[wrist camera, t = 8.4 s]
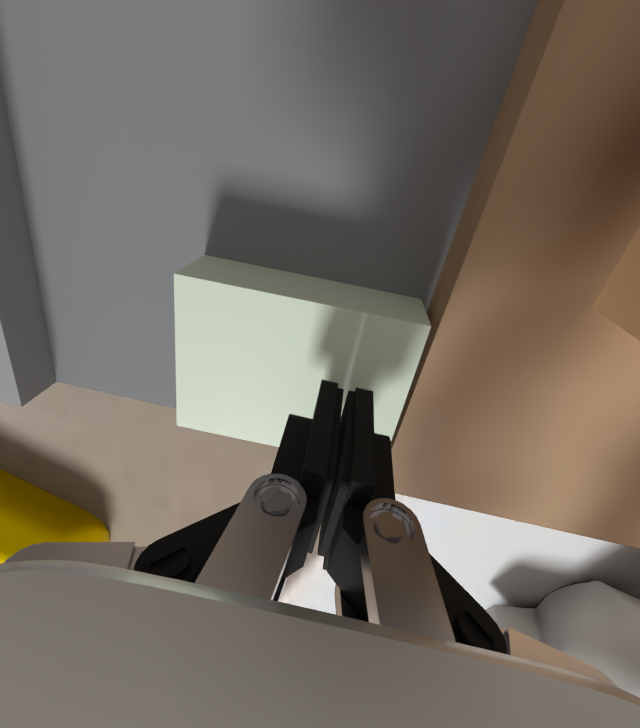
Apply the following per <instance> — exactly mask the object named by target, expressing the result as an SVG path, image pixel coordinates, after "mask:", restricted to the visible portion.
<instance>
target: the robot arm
mask: <svg viewBox="0 0 640 728" xmlns="http://www.w3.org/2000/svg"><path fill="white" fill-rule="evenodd" d="M343 392H344V389H341V388H338V383H335V382H331V381H326V380H322V381H321V385H320V389H319V393H318V397H317V402H316V406H315V410H314V415H313V419H311V418H307V417H302V416H298V415H293V414H289V416H288V419H287V423H286V426H285V429H284V433H283V436H282V439H281V442H280V446H279V449H278V452H277V456H276V459H275V462H274V466H273V469H272V472H271V474H268V475H264V476H261V477H260V478H258V479H256V480H255V481H254V482H253V483H252V484H251V486H250V487H249V489H248V490H247V492H246V494H245V496H244V497H243V499H242V501H241V502H240V503H238V504H235V505H233V506H231V507H229V508H227V509H224V510H222V511H220V512H218V513H216V514H214V515H211V516H209V517H207V518H205V519H203V520H200V521H198V522H196V523H194V524H192V525H189V526H187V527H185V528H183V529H181V530H178V531H176V532H174V533H172V534H170V535H167V536H165V537H163V538H161V539H159V540H157V541H155V542H154V543H152V544H150V545H149V546H148V547H135V542H44V543H38V544H33V545H30V546H28V547H26V548H23V549H21V550H19V551H18V552H16V553H15V554H13V555H12V556H11V557H9V558H8V559H7V560H6V561H5V562H4V563H1V564H0V728H640V698H639V697H637V696H635V695H633V694H631V693H629V692H627V691H624V690H622V689H620V688H618V687H617V685H616V684H615V683H614V682H613V681H612V680H611V679H610V678H609V677H607V676H606V675H605V674H604V673H603V672H601V671H599V670H598V669H596V668H595V667H593V666H591V665H589V664H587V663H585V662H583V661H581V660H578V659H576V658H574V657H572V656H570V655H568V654H566V653H563V652H561V651H559V650H557V649H555V648H553V647H550V646H548V645H546V644H544V643H542V642H540V641H538V640H535V639H533V638H531V637H529V636H527V635H525V634H523V633H520V632H518V631H516V630H514V629H512V628H510V627H508V628H507V629H506V630H503V629H500V628H499V626H498V625H497V623H496V622H495V621H494V620H493V618H492V617H491V616H490V615H489V614H488V613H487V612H486V611H485V610H484V609H483V608H482V607H481V606H480V604H479V603H478V602H477V601H476V600H475V599H474V598H473V597H472V596H471V595H470V594H469V593H468V592H467V591H466V590H465V589H464V588H463V587H462V586H461V585H460V584H459V583H458V582H457V581H456V580H455V579H454V578H453V577H452V576H451V575H450V574H449V573H448V572H447V571H446V570H445V569H444V568H443V567H442V566H441V565H440V564H439V563H438V562H437V561H436V560H435V559H434V558H433V557H432V556H431V555H430V554H429V552H428V548H427V545H426V542H425V539H424V535H423V532H422V529H421V525H420V523H419V521H418V519H417V517H416V516H415V514H414V513H413V512H412V511H411V510H410V509H409V508H408V507H406V506H405V505H404V504H402V503H400V502H398V501H396V500H395V490H394V477H393V465H392V452H391V441H390V437H389V436H386V435H381V434H377V433H374V400H373V391H371V390H366V389H362V388H357V387H356V389H355V391H350V390H349V391H348V394H347V397H346V401H345V404H344V408H343V411H342V402H343ZM341 412H342V415H341ZM320 525H321V529H320V537H319V545H318V555H320V556H324V563H323V569H324V570H327V572H328V574H329V575H330V576H331V578H332V579H333V580H334V582H335V583H336V586H335V606H336V615H335V614H330V613H326V612H321V611H317V610H313V609H308V608H304V607H299V606H295V605H291V604H286V603H282V602H279V600H280V597H281V594H282V592H283V589H284V586H285V583H286V579H287V577H288V576H289V575H291V574H292V573H294V572H295V571H297V570H298V569H300V568H301V567H303V566H304V562H305V559H306V555H307V553H311V554H312V551H313V548H314V545H315V541H316V538H317V535H318V532H319V528H320Z"/></svg>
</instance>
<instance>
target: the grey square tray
mask: <svg viewBox="0 0 640 728" xmlns="http://www.w3.org/2000/svg"><path fill="white" fill-rule="evenodd" d="M537 3H538V0H0V402H3V403H8V404H12V405H16V406H21V407H22V406H23V405H25V404H26V403H28V402H29V401H30V400H32V399H33V398H34V397H36V396H37V395H39V394H40V393H41V392H43V391H44V390H45V389H47V388H48V387H50V386H51V385H52V384H54V383H55V382H56V381H57V382H61V383H65V384H70V385H74V386H79V387H83V388H87V389H92V390H96V391H101V392H105V393H110V394H114V395H118V396H123V397H127V398H132V399H136V400H140V401H145V402H149V403H154V404H158V405H163V406H167V407H171V408H176V409H177V407H176V359H175V311H174V273H175V272H177V271H179V270H180V269H182V268H184V267H185V266H187V265H189V264H190V263H192V262H193V261H195V260H197V259H198V258H200V257H202V256H203V255H208V256H213V257H218V258H223V259H228V260H233V261H238V262H243V263H247V264H252V265H257V266H262V267H267V268H272V269H277V270H282V271H287V272H292V273H296V274H301V275H306V276H311V277H316V278H321V279H326V280H331V281H336V282H341V283H346V284H350V285H355V286H360V287H365V288H370V289H375V290H380V291H385V292H390V293H395V294H399V295H404V296H409V297H414V298H419V299H422V302H423V305H424V308H425V310H426V312H427V309H428V306H429V304H430V301H431V298H432V295H433V293H434V290H435V287H436V284H437V281H438V279H439V276H440V273H441V270H442V267H443V265H444V262H445V259H446V256H447V254H448V251H449V248H450V245H451V242H452V240H453V237H454V234H455V231H456V228H457V226H458V223H459V220H460V217H461V214H462V212H463V209H464V206H465V203H466V201H467V198H468V195H469V192H470V189H471V187H472V184H473V181H474V178H475V175H476V173H477V170H478V167H479V164H480V162H481V159H482V156H483V153H484V150H485V148H486V145H487V142H488V139H489V136H490V134H491V131H492V128H493V125H494V123H495V120H496V117H497V114H498V111H499V109H500V106H501V103H502V100H503V97H504V95H505V92H506V89H507V86H508V84H509V81H510V78H511V75H512V72H513V70H514V67H515V64H516V61H517V58H518V56H519V53H520V50H521V47H522V44H523V42H524V39H525V36H526V33H527V31H528V28H529V25H530V22H531V19H532V17H533V14H534V11H535V8H536V5H537Z"/></svg>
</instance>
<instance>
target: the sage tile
mask: <svg viewBox="0 0 640 728" xmlns="http://www.w3.org/2000/svg"><path fill="white" fill-rule="evenodd" d="M174 311H175V359H176V407H177V426H181V427H186V428H191V429H196V430H200V431H205V432H210V433H215V434H220V435H224V436H229V437H234V438H239V439H243V440H248V441H253V442H258V443H262V444H267V445H272V446H277V447H279V446H280V442H281V439H282V436H283V433H284V429H285V426H286V423H287V419H288V416H289V414H293V415H298V416H302V417H307V418H311V419H313V415H314V410H315V406H316V402H317V397H318V393H319V389H320V385H321V381H322V380H326V381H331V382H335V383H338V388H341V389H344V392H343V402H342V411H343V408H344V404H345V401H346V397H347V394H348V391H349V390H350V391H355V389H356V387H357V388H362V389H366V390H371V391H373V400H374V433H377V434H381V435H386V436H389V437H390V441H392V438H393V435H394V432H395V429H396V426H397V423H398V420H399V418H400V415H401V412H402V409H403V406H404V403H405V400H406V398H407V395H408V392H409V389H410V386H411V383H412V380H413V377H414V375H415V372H416V369H417V366H418V363H419V360H420V357H421V355H422V352H423V349H424V346H425V343H426V340H427V337H428V335H429V332H430V329H431V324H430V321H429V319H428V316H427V313H426V310H425V308H424V305H423V302H422V299H419V298H414V297H409V296H404V295H399V294H395V293H390V292H385V291H380V290H375V289H370V288H365V287H360V286H355V285H350V284H346V283H341V282H336V281H331V280H326V279H321V278H316V277H311V276H306V275H301V274H296V273H292V272H287V271H282V270H277V269H272V268H267V267H262V266H257V265H252V264H247V263H243V262H238V261H233V260H228V259H223V258H218V257H213V256H208V255H203V256H202V257H200V258H198V259H197V260H195V261H193V262H192V263H190V264H189V265H187V266H185V267H184V268H182V269H180V270H179V271H177V272H175V273H174ZM341 415H342V412H341Z"/></svg>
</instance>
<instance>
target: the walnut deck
mask: <svg viewBox="0 0 640 728" xmlns="http://www.w3.org/2000/svg"><path fill="white" fill-rule="evenodd" d="M639 226H640V0H538V3H537V5H536V8H535V11H534V14H533V17H532V19H531V22H530V25H529V28H528V31H527V33H526V36H525V39H524V42H523V44H522V47H521V50H520V53H519V56H518V58H517V61H516V64H515V67H514V70H513V72H512V75H511V78H510V81H509V84H508V86H507V89H506V92H505V95H504V97H503V100H502V103H501V106H500V109H499V111H498V114H497V117H496V120H495V123H494V125H493V128H492V131H491V134H490V136H489V139H488V142H487V145H486V148H485V150H484V153H483V156H482V159H481V162H480V164H479V167H478V170H477V173H476V175H475V178H474V181H473V184H472V187H471V189H470V192H469V195H468V198H467V201H466V203H465V206H464V209H463V212H462V214H461V217H460V220H459V223H458V226H457V228H456V231H455V234H454V237H453V240H452V242H451V245H450V248H449V251H448V254H447V256H446V259H445V262H444V265H443V267H442V270H441V273H440V276H439V279H438V281H437V284H436V287H435V290H434V293H433V295H432V298H431V301H430V304H429V306H428V309H427V312H426V313H427V316H428V319H429V321H430V324H431V329H430V332H429V335H428V337H427V340H426V343H425V346H424V349H423V352H422V355H421V357H420V360H419V363H418V366H417V369H416V372H415V375H414V377H413V380H412V383H411V386H410V389H409V392H408V395H407V398H406V400H405V403H404V406H403V409H402V412H401V415H400V418H399V420H398V423H397V426H396V429H395V432H394V435H393V438H392V441H391V452H392V465H393V477H394V490H395V493H396V494H401V495H405V496H410V497H414V498H418V499H423V500H427V501H432V502H436V503H441V504H445V505H449V506H454V507H458V508H463V509H467V510H471V511H476V512H480V513H485V514H489V515H493V516H498V517H502V518H507V519H511V520H516V521H520V522H524V523H529V524H533V525H538V526H542V527H546V528H551V529H555V530H560V531H564V532H568V533H573V534H577V535H582V536H586V537H590V538H595V539H599V540H604V541H608V542H613V543H617V544H621V545H626V546H630V547H635V548H639V549H640V341H639V340H638V339H636V338H635V337H633V336H632V335H631V334H629V333H628V332H626V331H625V330H623V329H622V328H620V327H619V326H617V325H616V324H615V323H613V322H612V321H610V320H609V319H607V318H606V317H604V316H603V315H601V314H600V313H598V312H597V311H596V310H594V309H593V308H592V306H593V304H594V303H595V301H596V299H597V298H598V296H599V294H600V293H601V291H602V289H603V287H604V286H605V284H606V282H607V281H608V279H609V277H610V276H611V274H612V272H613V270H614V269H615V267H616V265H617V264H618V262H619V260H620V259H621V257H622V255H623V254H624V252H625V250H626V248H627V247H628V245H629V243H630V242H631V240H632V238H633V237H634V235H635V233H636V231H637V230H638V228H639Z"/></svg>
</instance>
